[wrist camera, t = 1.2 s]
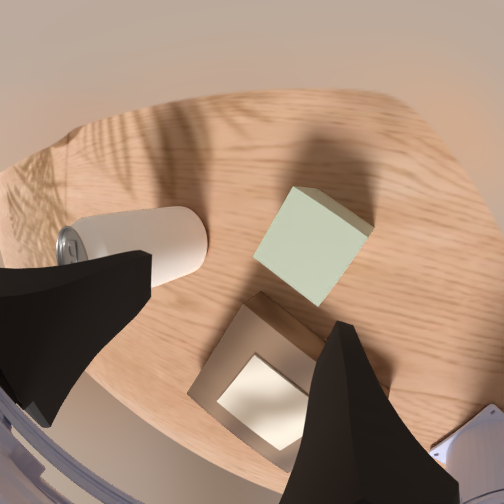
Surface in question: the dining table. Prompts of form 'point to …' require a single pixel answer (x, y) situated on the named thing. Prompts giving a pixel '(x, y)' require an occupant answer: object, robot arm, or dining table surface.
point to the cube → (312, 242)
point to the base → (262, 379)
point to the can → (139, 239)
